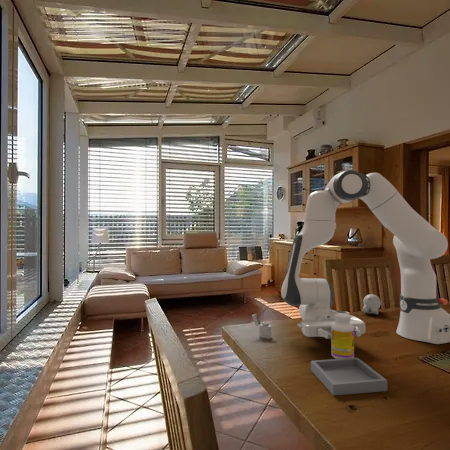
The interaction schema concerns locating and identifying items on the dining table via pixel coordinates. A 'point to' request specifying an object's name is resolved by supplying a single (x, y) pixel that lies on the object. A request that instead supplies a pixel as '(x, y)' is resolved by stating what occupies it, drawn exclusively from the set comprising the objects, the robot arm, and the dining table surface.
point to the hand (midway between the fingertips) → (343, 335)
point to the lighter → (262, 327)
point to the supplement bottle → (342, 337)
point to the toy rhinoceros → (371, 304)
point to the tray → (348, 376)
